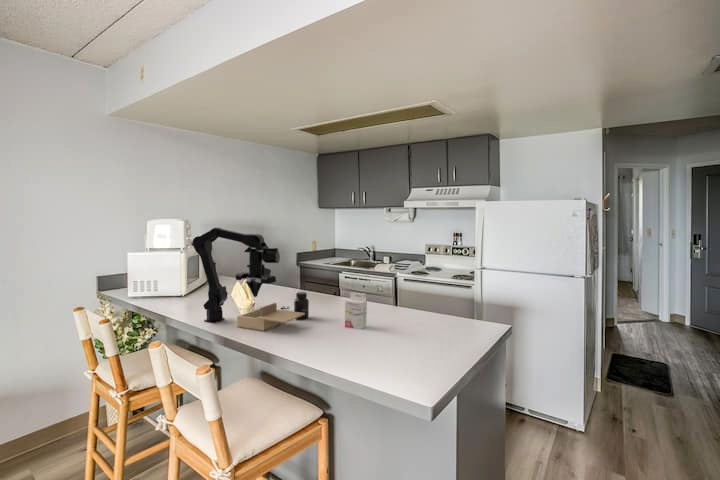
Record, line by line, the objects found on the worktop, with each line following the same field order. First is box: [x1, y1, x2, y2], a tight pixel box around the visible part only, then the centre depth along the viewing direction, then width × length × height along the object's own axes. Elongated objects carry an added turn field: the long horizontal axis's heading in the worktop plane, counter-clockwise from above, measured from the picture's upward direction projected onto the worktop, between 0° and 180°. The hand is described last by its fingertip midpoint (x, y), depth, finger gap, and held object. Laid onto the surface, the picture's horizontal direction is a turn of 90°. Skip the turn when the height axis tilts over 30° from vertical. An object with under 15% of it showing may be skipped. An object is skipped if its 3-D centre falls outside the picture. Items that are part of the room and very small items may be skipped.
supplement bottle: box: [293, 291, 310, 321], centre depth 176 cm, size 7×7×12 cm
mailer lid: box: [256, 302, 305, 324], centre depth 160 cm, size 15×15×4 cm
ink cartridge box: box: [344, 291, 368, 330], centre depth 162 cm, size 9×5×15 cm, turn 65°
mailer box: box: [236, 308, 283, 333], centre depth 164 cm, size 14×14×5 cm
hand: (255, 296), depth 169 cm, fingers closed
